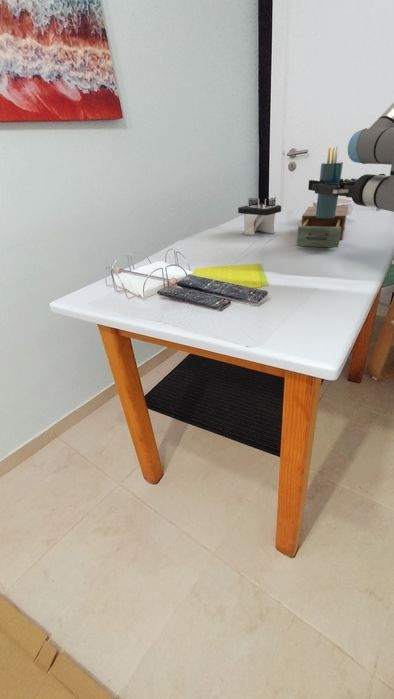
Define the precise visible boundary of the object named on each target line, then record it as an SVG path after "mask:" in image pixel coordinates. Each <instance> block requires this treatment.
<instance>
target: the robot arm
mask: <svg viewBox="0 0 394 699" xmlns="http://www.w3.org/2000/svg"><path fill="white" fill-rule="evenodd" d="M347 155H348V158H349V159H350V160H351V161H352V162H354V163H358V164H362V165H388V166H389V165H391V167H390V171H389V175H385V174H371V173H366V174H363V175H361V176H360V177H359V178H350V179H348V178H345V179H343V178H341V181H340V183H339V184H338V183H324V182H323V180H320V179H319V180H320V181H319V180H314V179H309V180H308V187H307V189H308V191H313V192H314V194H316V195H318V194H324V195H330V196H333V197H338V198H339V197H345V198H348V199H352V200H353V202H354V205H357V206H361V207H367V208H368V207H369V208H375V210H376V211H377V212H378V211H381V210H384V211H387V212H393V213H394V101H393V102H392V103H391V104H390V106H388V108H386V110H385V111H384V112H383V113H382V114H381V115H380V116H379V117H378V119H376V120H375V121H374V122H373V124H371V126H370V127H369V128H366V127H365V128H363V129H360V130H357V131H356V132H354V133H353V135H352V136H351V137H350V139H349V141H348V144H347Z"/></svg>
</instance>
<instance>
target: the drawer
mask: <svg viewBox="0 0 394 699" xmlns="http://www.w3.org/2000/svg"><path fill="white" fill-rule="evenodd" d="M340 222H341V219H314V218H307V219H306V221H305V222H304V224H303V225H302V224H301V225H302V226H301V225H298V227H297V235H296V236H297V238H296V247H314V248H315V247H318V248H339V245H340V240H339V239H340V232H341V227H340Z"/></svg>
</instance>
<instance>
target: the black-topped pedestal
mask: <svg viewBox="0 0 394 699" xmlns="http://www.w3.org/2000/svg"><path fill="white" fill-rule="evenodd" d="M281 212H282V205H279V204H277V196H275V197H271V198H265V199H264V203H263V202H262V201H261V199H260V198H255V199H254V198H253V197H247V205H243V206H238V208H237V213H238V214H242V215H243V216H244V217H243V218H244V219H243V221H244V222H243V223H244V224H243V226H244V227H243V229H244V231H243V233H244V235H250V236H251V235H253V236H255V233H256V232H262V233H268V234H275V227H276V226H275V224H276V214H278V213H281Z"/></svg>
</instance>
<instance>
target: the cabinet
mask: <svg viewBox="0 0 394 699" xmlns="http://www.w3.org/2000/svg"><path fill="white" fill-rule="evenodd" d="M316 208H317V207H313V206H308V207H307V209H306V210H305V212H304V213H303V214H302V216H301V225H300V226H302V225H303V224H304V222H305V221H306V219H307V218H314V219H341V222H340V227H341V232H340V239H339V241H343V238H344V234H345V229H346V223H347V217H348V216H347V211H348V207H337V210H336V216H335V217H334V218H317V217H316Z"/></svg>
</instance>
